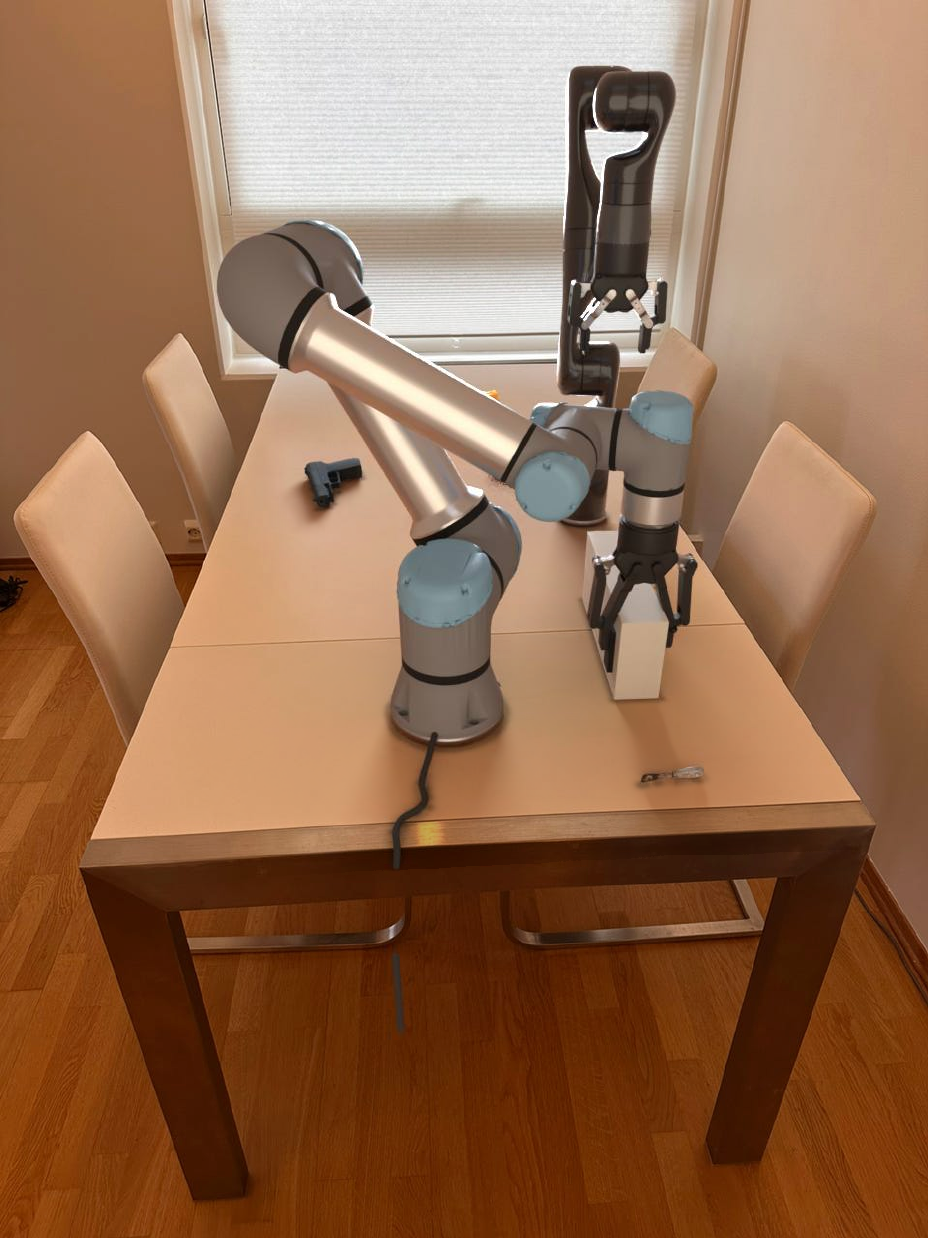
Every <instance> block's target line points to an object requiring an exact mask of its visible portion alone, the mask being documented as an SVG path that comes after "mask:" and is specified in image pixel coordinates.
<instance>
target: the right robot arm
mask: <svg viewBox="0 0 928 1238" xmlns="http://www.w3.org/2000/svg"><path fill="white" fill-rule="evenodd" d="M566 81H567V82H566V87H565V150H566V151H565V156H566V157H565V161H566V163H565V165H566V166H565V168H566V169H565V170H566V171H565V173H566V174H565V177H566V178H565V200H564V216H563V226H562V227H563V228H562V229H563V231H562V286H561V287H562V288H561V289H562V292H561V293H562V294H561V313H560V314H561V315H560V326H559V336H558V337H559V338H558V348H557V361H556V362H557V363H556V384H557V389H558V391H559V393H560V394H561V395H562V396H567V397H594V398H593V399H592V400H590V401H589V402H588V403H586V404H584V406H595V407H605V408H616V407H615V406H616V399H617V392H618V391H617V390H618V385H619V378H620V370H621V353H620V349H619V347H618V345H617V344H616V343H614V342H612V341H610V342H609V341H591V329H590V327H591V326H592V324H593V323H594V321H595V320H596V319H598V318H599V317H600V316H601V315H602V313H603V312H606V313H607V314H613V313H617V312H620V313H623V314H627V313H629V312H631V311H632V310H633V311H634V313H635V314H636V316H637V317H638V319H639V320H640V322H641V324H640V325H639V332H638V343H637V352H638V353H639V354H646V351H647V350H649V349H650V347H651V343H652V333H653V332H652V331H653V328H654V327H655V326H657V325H662V324H665V322H666V320H667V306H668V305H667V304H668V288H669V287H668V285H669V284H668V282H666V281H665V280H664V278H662V277H658V278H657V279H656V280H648V278H647V271H648V263H649V261H648V260H649V252H650V251H649V250H650V243H651V242H650V241H651V236H652V201H653V192H654V180H655V173H656V166H657V162H658V158H659V154H660V151H661V147H662V144H663V142H664V139H665V136H666V133H667V129H668V126H669V124H670V122H671V120H672V116H673V113H674V109H675V106H676V102H677V90H676V85H675V82H674V80H673V78H672V76H671V75H670V74H669V73H667V72H666V71H661V70H647V71H646V70H644V71H642V70H641V71H639V70H638V71H637V70H635V71H634V70H632V69H630V68H629V67H626V66H623V65H578V66H577V65H576V66H574V67H572V69H571V70H570V71H569V73H568V77H567V80H566ZM586 132H587V133H588V132H602V133H607V134H641V133H642V134H643V135H642V137H641V140H640V141H639V143H638V144H637V145H636V146H634V148H632V149H628V150H626V151H621V152H616V153H613V154H611V155H608V156H607V157H606V158H605V159H604V161H603V164H602V172H601V179H600V178H599V176H598V174H597V172H596V169H595V166H594V164H593V162H592V159H591V156H590V152H589V148H588V143H587V135H586ZM648 290H650V294H651V295H652V296H653V297H654V306H653V307H654V308H653V309H654V310H653V314H650V315H649V314H648V312H647V310H646V309H645V307H644V305H643V304H642V303H641V300H642V298H643V297H644V296H645V295H646V293H647V292H648ZM441 369H443V370H445V371H447V372H448V373H450V374H452V375H454V376H455V377H457V376H456V375H455V374H453V373H452V372H451V371H450V370H448V369H447V368H446V367H441ZM609 476H610V471H609V470H598V469H596V470H595V472H594V474H593V477H592V479H591V482H590V486H589V489H588V493H587V495H586V497H585V498H584V499H583V500H582V502H581V504H580V505H579V507H578V508H577V509H576V510H575V512H574V513H573V514H571V515H570V516H569V517H567V518H565V519H563V520H560V521H561V522H563V523H565V524H566V525H570V526H576V527H590V526H596V525H599V524H601V523H603V522H604V521H605V520H606V516H607V510H606V509H607V498H608V487H609Z"/></svg>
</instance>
